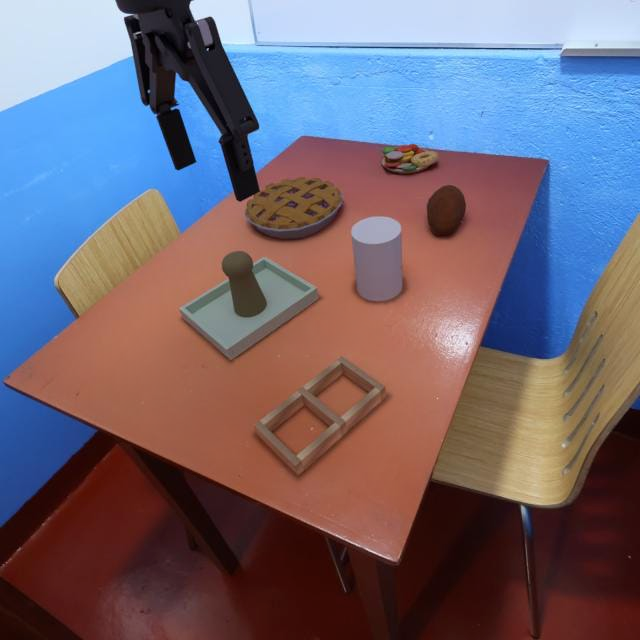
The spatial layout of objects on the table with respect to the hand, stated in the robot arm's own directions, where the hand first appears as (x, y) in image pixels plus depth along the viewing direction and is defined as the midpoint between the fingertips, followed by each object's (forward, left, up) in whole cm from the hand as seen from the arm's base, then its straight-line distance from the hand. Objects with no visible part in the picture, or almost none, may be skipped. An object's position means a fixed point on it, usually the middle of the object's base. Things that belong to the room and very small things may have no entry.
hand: (214, 180), depth 55 cm
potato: (+47, +1, -31) cm, 56 cm away
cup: (+24, -2, -31) cm, 39 cm away
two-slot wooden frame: (-2, -15, -31) cm, 34 cm away
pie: (+31, +30, -31) cm, 53 cm away
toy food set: (+64, +25, -31) cm, 75 cm away
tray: (+5, +12, -31) cm, 33 cm away
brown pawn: (+5, +12, -30) cm, 33 cm away
